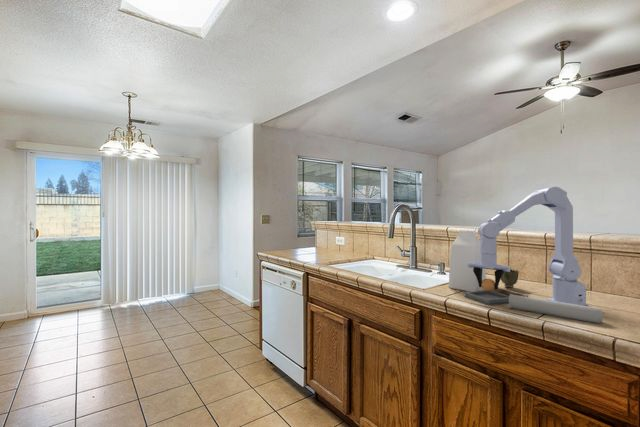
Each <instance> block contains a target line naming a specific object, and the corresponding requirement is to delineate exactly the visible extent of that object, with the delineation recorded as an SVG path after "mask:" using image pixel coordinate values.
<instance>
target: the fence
mask: <svg viewBox="0 0 640 427" xmlns="http://www.w3.org/2000/svg"><path fill="white" fill-rule="evenodd" d="M493 292H497V293H500V294H504V295H507V296H509V295H510V294H513V295H518V296H524V297H529V295H527V294H524V293H520V292H517V291H513V290H509V289H507V288H502V287H499V286H498V289H494V290H493Z"/></svg>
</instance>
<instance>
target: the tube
mask: <svg viewBox="0 0 640 427" xmlns="http://www.w3.org/2000/svg"><path fill="white" fill-rule="evenodd" d="M508 308H509V309H514V310H518V311H519V310H520V311H523V312H530V313H535V314H540V315H541V314H542V315H548V316H554V317H558V318H565V319H569V320H570V319H572V320H576V321H583V322H589V323H595V324H601V323H603V321H604V318H605V317H604V313H603V310H602V309H600V308H598V307H595V306H588V305H576V304H570V303H563V302H557V301H550V300H547V299H542V298H538V297H537V298H536V297H529V296H528V297H524V296H518V295H513V294H510V295H509V303H508Z"/></svg>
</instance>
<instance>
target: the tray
mask: <svg viewBox="0 0 640 427" xmlns="http://www.w3.org/2000/svg"><path fill="white" fill-rule="evenodd" d="M464 297H465V298H468V299H470V300H472V301H476V302H477V303H482V304H484V305H487V306H495V305H502V304H509V296H507V295H504V294H500V293H497V292H493V291H485V290H484V289H483V290H480V291H474V292H471V291H466V292H464Z"/></svg>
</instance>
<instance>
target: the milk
mask: <svg viewBox="0 0 640 427" xmlns="http://www.w3.org/2000/svg"><path fill="white" fill-rule="evenodd" d="M458 232H459V233H458V235H457V236H456V238H455V239H454V241H453V242H452V244H451V246H450V254H449V255H450V256H449V276H448V288H450V289H455V290H460V289H461V290H462V291H466V292H474V291H483V290H484V289H483V288H482V287H479V284H478V280H477V278H476V275H475V273H474V272H473V269H474V268H468V263H469V262H471V263H480V239H479V237H478V236H477V233H476V231H475V230H465V229H464V230H463V229H462V230H459V231H458ZM486 275H487V273H486V269H482V281H483V280H484V279H487V276H486ZM461 290H460V291H461Z"/></svg>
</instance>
